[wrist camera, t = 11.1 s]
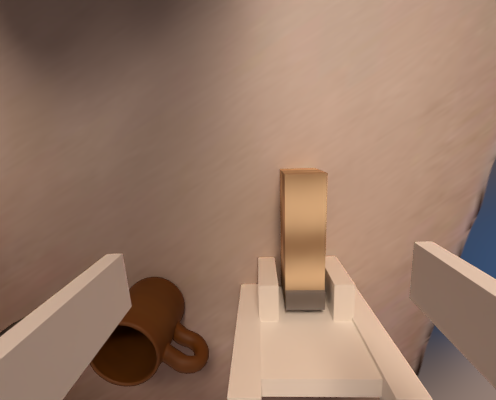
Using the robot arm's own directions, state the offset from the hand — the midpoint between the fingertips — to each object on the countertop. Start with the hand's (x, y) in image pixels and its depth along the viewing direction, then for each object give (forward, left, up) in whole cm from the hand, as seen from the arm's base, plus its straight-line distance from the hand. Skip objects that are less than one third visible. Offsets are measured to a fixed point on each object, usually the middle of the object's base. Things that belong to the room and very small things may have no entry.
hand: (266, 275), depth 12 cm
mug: (+14, -12, -21) cm, 28 cm away
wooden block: (+4, +4, -21) cm, 21 cm away
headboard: (+10, +4, -20) cm, 23 cm away
